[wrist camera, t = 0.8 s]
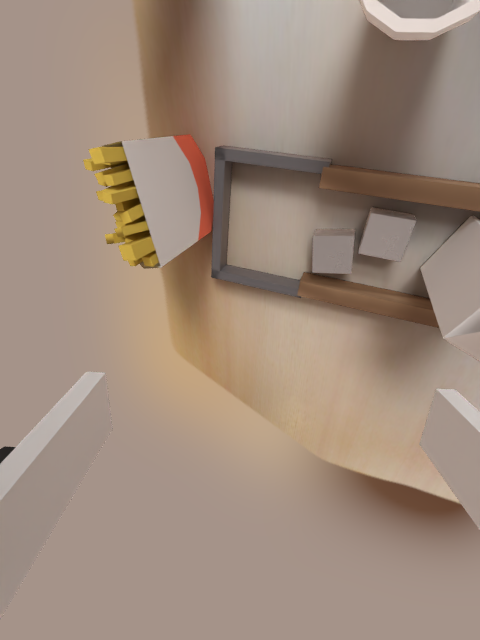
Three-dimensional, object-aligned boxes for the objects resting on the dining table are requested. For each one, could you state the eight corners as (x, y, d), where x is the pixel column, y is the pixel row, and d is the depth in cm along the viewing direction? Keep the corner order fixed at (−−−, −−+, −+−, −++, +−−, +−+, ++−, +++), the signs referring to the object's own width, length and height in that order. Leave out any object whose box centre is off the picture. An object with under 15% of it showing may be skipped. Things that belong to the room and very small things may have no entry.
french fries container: (189, 228, 44) (103, 282, 30) (167, 140, 39) (50, 154, 25) (219, 225, 43) (143, 280, 28) (200, 133, 38) (95, 143, 23)
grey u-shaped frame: (223, 145, 37) (215, 147, 35) (332, 159, 35) (329, 161, 33) (218, 270, 46) (211, 277, 44) (304, 289, 43) (301, 297, 41)
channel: (326, 163, 35) (323, 167, 33) (526, 189, 31) (539, 195, 28) (301, 285, 43) (297, 295, 41) (455, 319, 39) (460, 332, 37)
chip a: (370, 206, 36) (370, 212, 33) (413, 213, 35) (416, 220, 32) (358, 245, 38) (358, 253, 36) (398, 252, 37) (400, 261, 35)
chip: (316, 228, 39) (312, 235, 37) (355, 228, 38) (354, 235, 35) (315, 263, 41) (312, 272, 39) (352, 264, 40) (351, 273, 37)
